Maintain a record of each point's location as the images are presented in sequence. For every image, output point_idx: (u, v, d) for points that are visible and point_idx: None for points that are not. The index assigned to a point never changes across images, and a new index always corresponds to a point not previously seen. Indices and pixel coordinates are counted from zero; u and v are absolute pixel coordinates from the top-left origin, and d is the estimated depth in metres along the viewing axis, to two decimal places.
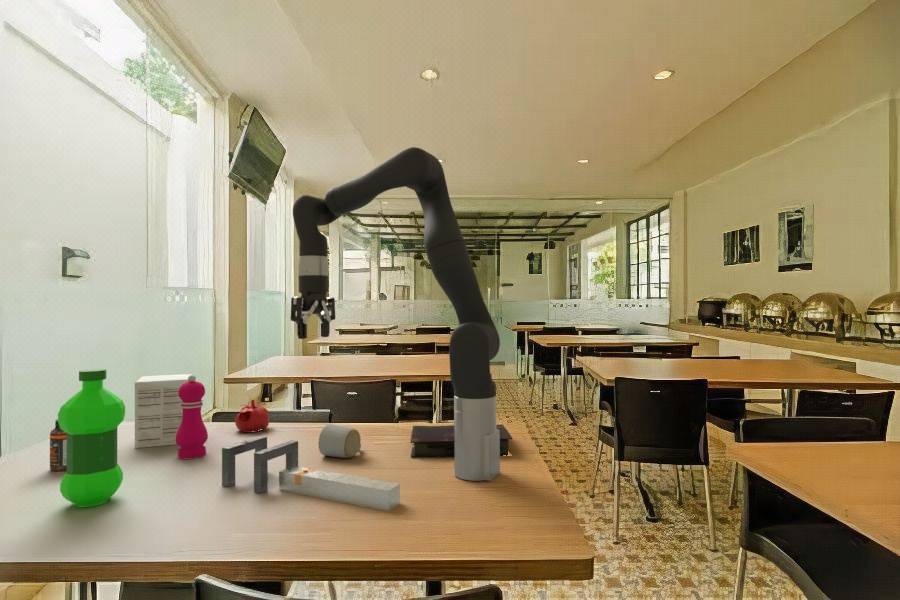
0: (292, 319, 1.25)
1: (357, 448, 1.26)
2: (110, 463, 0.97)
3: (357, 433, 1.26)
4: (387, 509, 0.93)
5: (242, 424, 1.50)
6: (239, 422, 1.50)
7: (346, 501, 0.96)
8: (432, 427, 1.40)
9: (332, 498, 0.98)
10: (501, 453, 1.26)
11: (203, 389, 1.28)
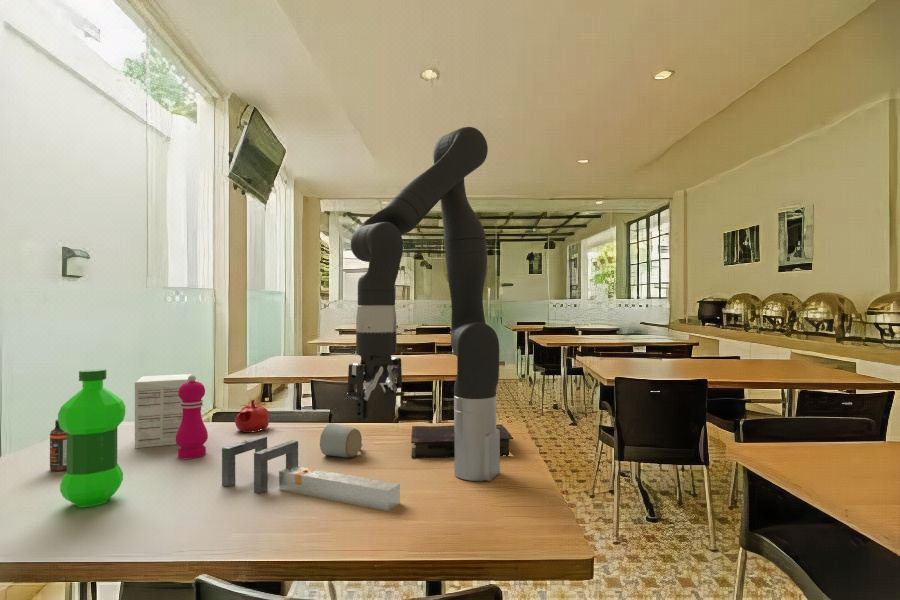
0: (350, 395, 0.90)
1: (358, 447, 1.27)
2: (110, 463, 0.97)
3: (358, 433, 1.27)
4: (387, 509, 0.92)
5: (242, 424, 1.50)
6: (239, 422, 1.50)
7: (346, 501, 0.96)
8: (431, 427, 1.40)
9: (332, 498, 0.98)
10: (502, 453, 1.26)
11: (203, 389, 1.28)
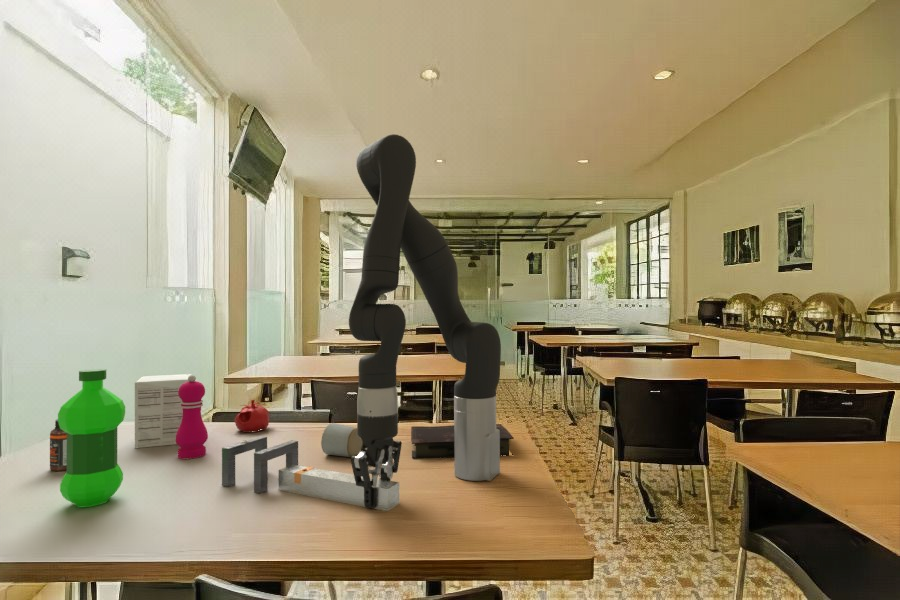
0: (358, 484, 0.91)
1: (359, 447, 1.27)
2: (110, 463, 0.97)
3: None
4: (386, 508, 0.92)
5: (242, 424, 1.50)
6: (239, 422, 1.50)
7: (345, 500, 0.96)
8: (431, 427, 1.39)
9: (331, 497, 0.98)
10: (502, 452, 1.27)
11: (203, 389, 1.28)
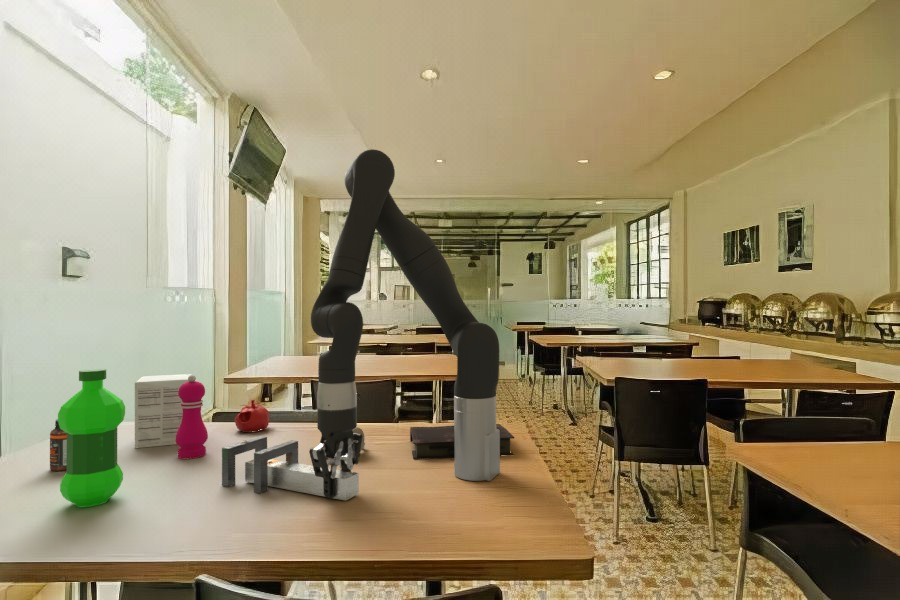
0: (317, 475, 0.96)
1: (361, 446, 1.28)
2: (110, 463, 0.97)
3: (361, 431, 1.28)
4: (345, 497, 0.97)
5: (242, 424, 1.50)
6: (239, 422, 1.50)
7: (307, 490, 1.00)
8: (430, 428, 1.39)
9: (294, 487, 1.02)
10: (503, 452, 1.27)
11: (203, 389, 1.28)
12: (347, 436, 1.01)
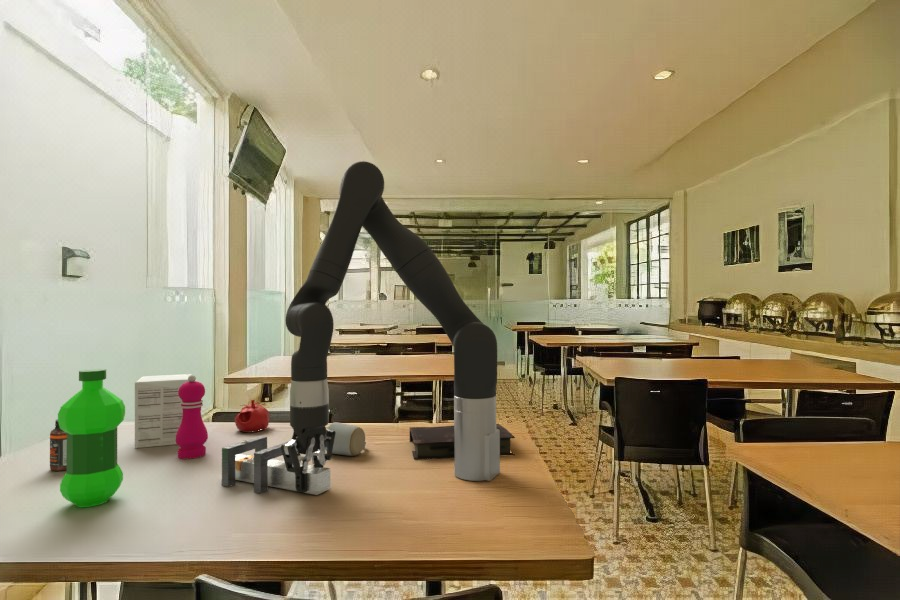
0: (289, 470, 0.98)
1: (362, 446, 1.28)
2: (110, 463, 0.97)
3: (362, 431, 1.28)
4: (316, 491, 0.99)
5: (242, 424, 1.50)
6: (239, 422, 1.50)
7: (280, 485, 1.03)
8: (429, 428, 1.39)
9: (268, 482, 1.05)
10: (503, 452, 1.27)
11: (203, 389, 1.28)
12: (319, 433, 1.04)
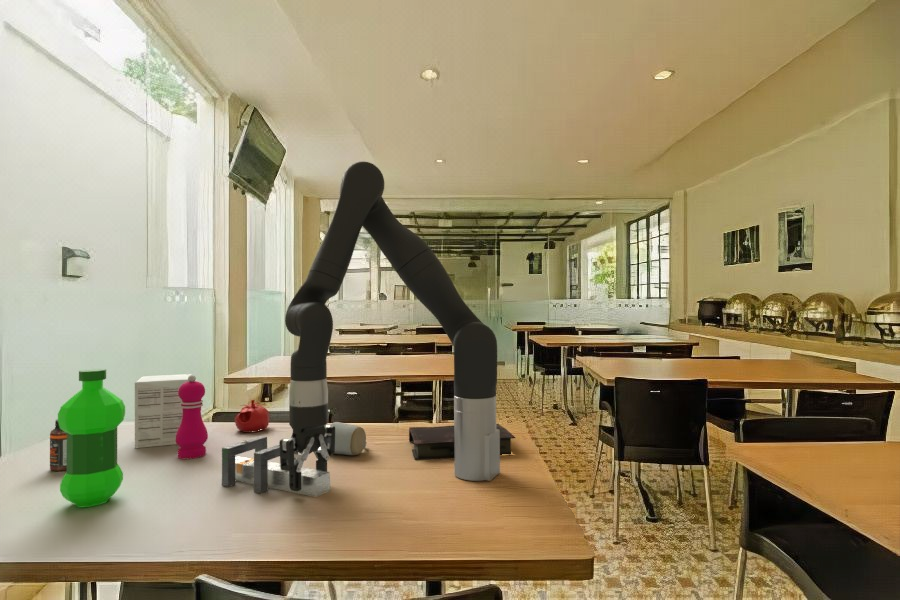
0: (282, 468, 0.97)
1: (363, 445, 1.29)
2: (110, 463, 0.97)
3: (363, 431, 1.28)
4: (315, 495, 0.99)
5: (242, 424, 1.50)
6: (239, 422, 1.50)
7: (280, 488, 1.03)
8: (429, 428, 1.39)
9: (268, 485, 1.05)
10: (504, 452, 1.27)
11: (203, 389, 1.28)
12: (319, 432, 1.04)
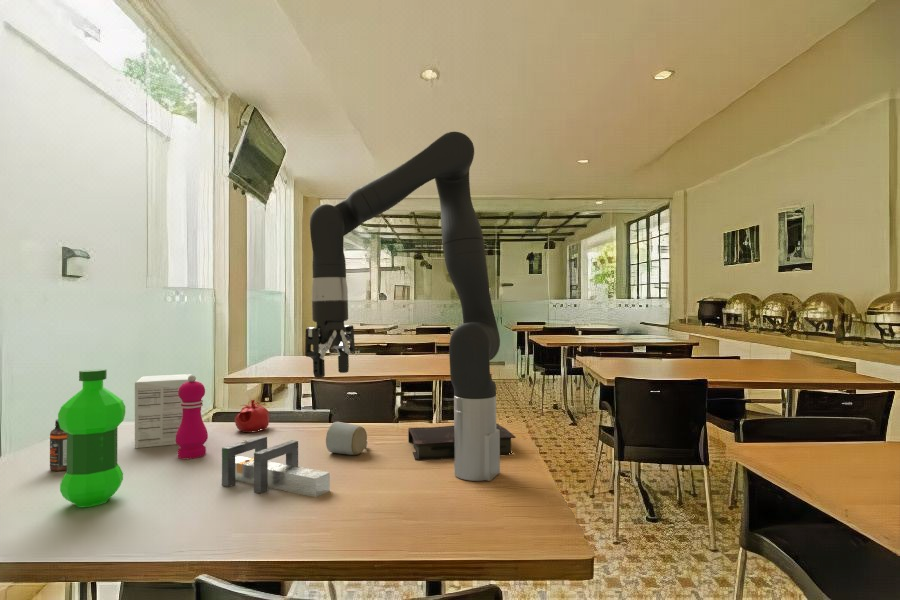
0: (307, 354, 1.04)
1: (364, 445, 1.29)
2: (110, 463, 0.97)
3: (364, 430, 1.29)
4: (315, 496, 0.99)
5: (242, 424, 1.50)
6: (239, 422, 1.50)
7: (280, 488, 1.03)
8: (429, 428, 1.39)
9: (268, 485, 1.05)
10: (504, 452, 1.27)
11: (203, 389, 1.28)
12: (339, 329, 1.11)
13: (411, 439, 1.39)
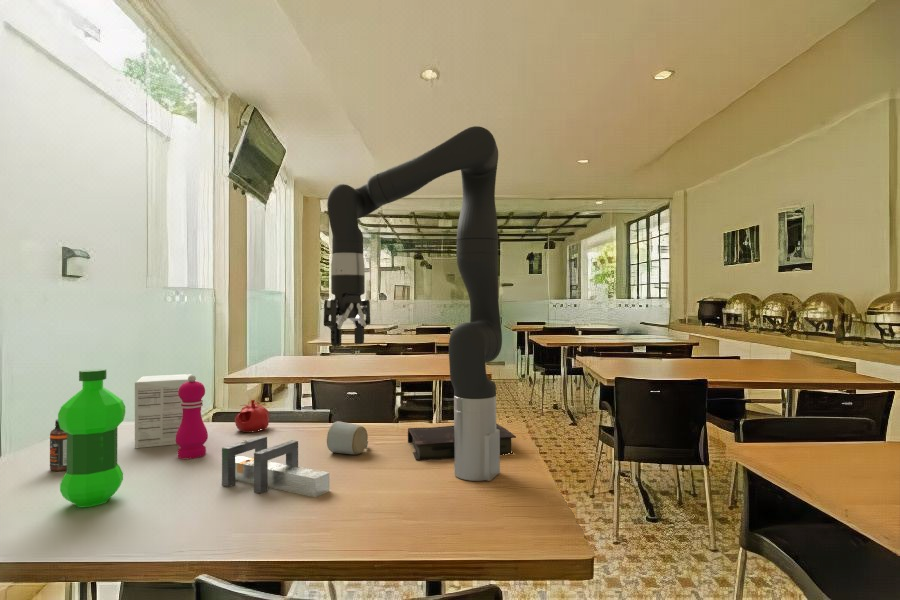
0: (325, 324, 1.11)
1: (364, 445, 1.29)
2: (110, 463, 0.97)
3: (364, 430, 1.29)
4: (314, 496, 0.99)
5: (242, 424, 1.50)
6: (239, 422, 1.50)
7: (280, 488, 1.03)
8: (428, 429, 1.38)
9: (268, 485, 1.05)
10: (504, 452, 1.28)
11: (203, 389, 1.28)
12: (356, 302, 1.19)
13: (410, 439, 1.39)
